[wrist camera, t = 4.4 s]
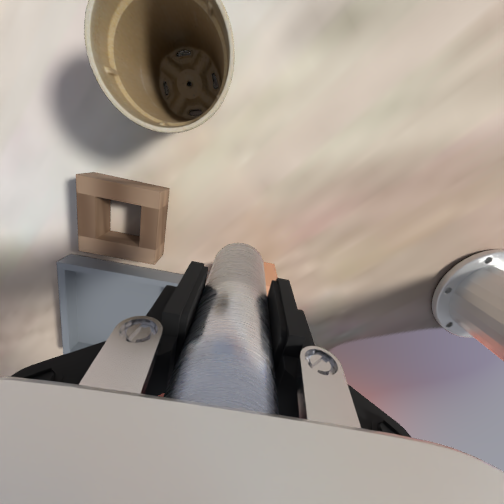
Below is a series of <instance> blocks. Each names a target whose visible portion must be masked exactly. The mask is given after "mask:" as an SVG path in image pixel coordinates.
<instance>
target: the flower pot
mask: <svg viewBox="0 0 504 504" xmlns="http://www.w3.org/2000/svg"><path fill="white" fill-rule="evenodd" d="M84 35H85V45H86V50H87V56H88V59H89V62H90V66H91V68H92V70H93V73H94V75H95V77H96V80H97V82H98V83H99V85H100V87H101V89H102V91H103V92H104V94H105V95H106V96H107V98H108V99H109V100H110V101H111V103H112V104H113V105H114V106H115V107H116V108H117V109H118V110H119V111H120V112H121V113H122V114H123V115H125V116H126V117H127V118H128V119H130V120H131V121H133V122H135V123H136V124H138V125H140V126H142V127H144V128H147V129H150V130H153V131H157V132H163V133H179V132H184V131H188V130H191V129H193V128H196V127H198V126H200V125H201V124H203V123H204V122H206V121H207V120H208V119H209V118H210V117H212V116H213V115H214V113H215V112H216V111H217V110H218V109H219V107H220V106H221V104H222V103H223V101H224V99H225V97H226V95H227V92H228V90H229V87H230V84H231V80H232V76H233V71H234V60H235V52H234V39H233V33H232V28H231V24H230V21H229V17H228V15H227V12H226V10H225V7H224V5H223V3H222V1H221V0H89V1H88V5H87V8H86V12H85V22H84ZM183 50H188V51H190V53H191V54H190V55H184V56H180V57H178V56H177V53H178V52H180V51H183ZM213 73H214V74H215V76H216V79H217V83H218V88H217V89H215V88H214V86H213V78H212V74H213ZM188 81H190V82H191V83H192V84H191V86H188V85H187V82H188ZM164 82H166V84H167V87H168V88H169V89H168V93H169V94H168V95H166V93H165V89H164ZM199 109H201V111H202V114H201V115H198V116H195V115H190V114H189V113H190V111H191V110H199Z"/></svg>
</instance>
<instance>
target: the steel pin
mask: <svg viewBox="0 0 504 504" xmlns="http://www.w3.org/2000/svg"><path fill="white" fill-rule="evenodd" d="M164 397H166V398H173V399H180V400H186V401H193V402H199V403H206V404H212V405H219V406H225V407H232V408H238V409H245V410H251V411H257V412H264V413H270V414H277V415H279V410H278V400H277V390H276V380H275V371H274V361H273V351H272V341H271V331H270V321H269V311H268V301H267V292H266V282H265V272H264V262H263V259H262V257H261V255H260V253H259V252H258V251H257V250H256V249H255V248H253V247H252V246H250V245H247V244H244V243H233V244H230V245H227V246H225V247H224V248H222V249H221V250H220V251H219V252H218V254H217V255H216V257H215V260H214V263H213V265H212V268H211V271H210V273H209V276H208V279H207V281H206V284H205V287H204V290H203V293H202V295H201V298H200V301H199V304H198V306H197V309H196V312H195V314H194V317H193V320H192V323H191V325H190V328H189V331H188V333H187V336H186V339H185V342H184V344H183V346H182V349H181V351H180V354H179V357H178V359H177V362H176V365H175V367H174V370H173V373H172V376H171V378H170V381H169V384H168V386H167V389H166V392H165V394H164Z"/></svg>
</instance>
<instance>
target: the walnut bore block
mask: <svg viewBox="0 0 504 504" xmlns="http://www.w3.org/2000/svg"><path fill="white" fill-rule="evenodd" d="M76 192H77V219H78V245H79V251H83V252H88V253H94V254H99V255H104V256H110V257H115V258H121V259H126V260H132V261H137V262H142V263H148V264H153V265H155V264H156V262H157V261H158V260H159V259H160V258H161V257H162V255H163V251H164V241H165V230H166V219H167V209H168V198H169V188H165V187H161V186H156V185H151V184H147V183H142V182H137V181H133V180H128V179H123V178H119V177H114V176H109V175H105V174H100V173H95V172H92V173H83V174H76ZM111 200H115V201H120V202H125V203H130V204H135V205H140V206H141V222H140V236H135V235H130V234H125V233H120V232H115V231H110V206H111Z"/></svg>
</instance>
